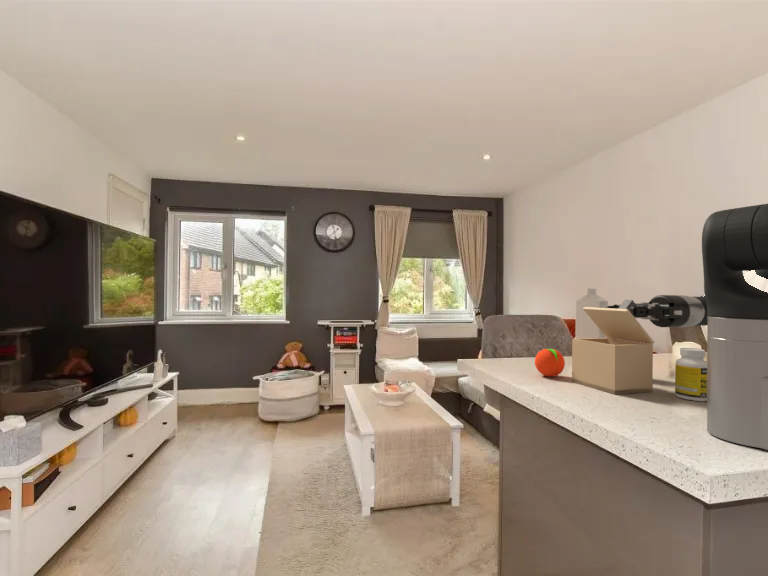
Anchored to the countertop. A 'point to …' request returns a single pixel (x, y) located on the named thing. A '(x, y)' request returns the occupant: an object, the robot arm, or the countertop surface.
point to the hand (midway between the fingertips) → (618, 311)
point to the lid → (619, 323)
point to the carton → (613, 365)
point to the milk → (583, 321)
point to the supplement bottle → (691, 375)
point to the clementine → (549, 362)
